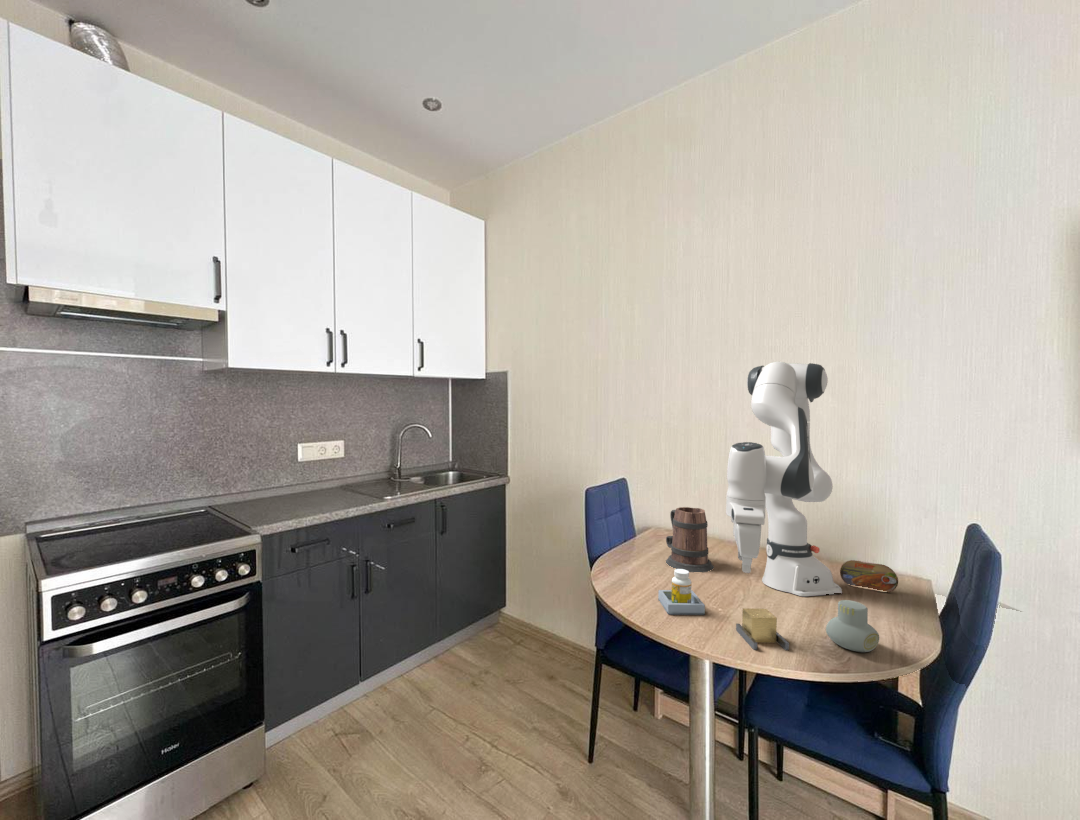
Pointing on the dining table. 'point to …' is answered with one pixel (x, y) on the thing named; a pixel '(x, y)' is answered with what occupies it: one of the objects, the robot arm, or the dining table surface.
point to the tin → (869, 575)
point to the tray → (681, 604)
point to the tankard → (689, 540)
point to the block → (760, 624)
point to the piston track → (753, 643)
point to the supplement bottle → (681, 587)
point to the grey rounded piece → (852, 627)
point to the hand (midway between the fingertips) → (744, 565)
